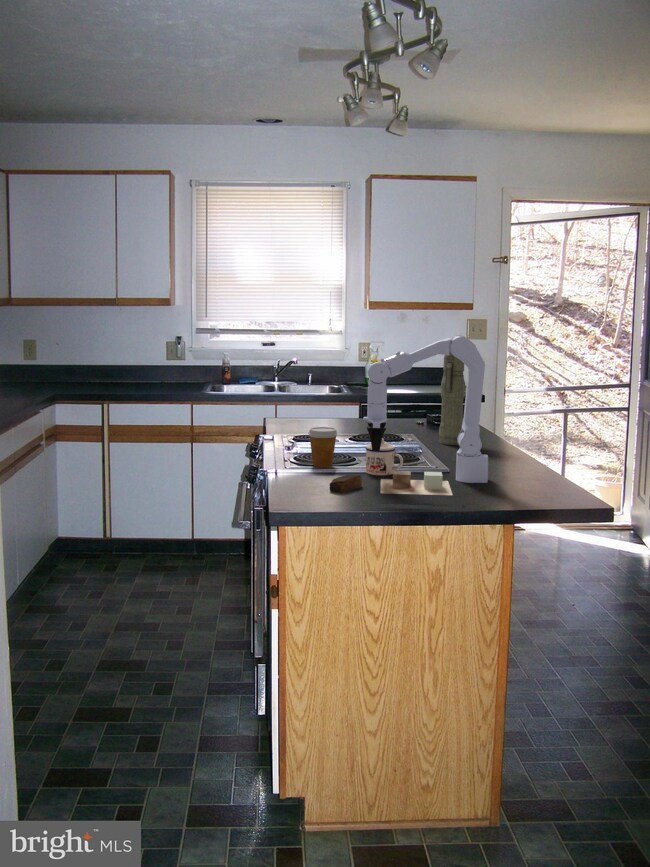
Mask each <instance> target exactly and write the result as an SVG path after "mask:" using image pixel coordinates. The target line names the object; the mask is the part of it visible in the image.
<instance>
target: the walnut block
mask: <svg viewBox="0 0 650 867" xmlns="http://www.w3.org/2000/svg"><path fill="white" fill-rule="evenodd" d="M411 473H412V472H411V470H394V471H393V474H392V479H393V488H408V489H410V486H411V480H412V479H411V477H412V474H411Z"/></svg>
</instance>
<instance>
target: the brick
mask: <svg viewBox="0 0 650 867" xmlns="http://www.w3.org/2000/svg"><path fill="white" fill-rule="evenodd" d="M362 479H363V477H362V475H361V474H357V473H349V474H348V473H347V474H345V475H341V476H339V477H336V478H333V479H332V480H331V482H330V483H329V491H330V492H332V493H336V494H343V493H347V492H349V491H352V490H356V489H359V488H362V483H363V481H362Z"/></svg>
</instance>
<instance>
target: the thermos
mask: <svg viewBox="0 0 650 867" xmlns="http://www.w3.org/2000/svg"><path fill="white" fill-rule="evenodd" d="M464 371H465V364H464V363H463V362H462V360H460V359H458V358H456V357H455V356H454V355H453V354H451V352H449V355H443V375H442V379H441V382H440V384H441V385H440V398H441V416H440V418H441V419H440V425H439V428H438V429H439V430H438V431H439V432H438V436H439V441H438V442H439V444H441V445H445V446H459V444H458V442H457V438H458V435H459V434H460V432H461V429H462V423H463V418H464V399H465V398H466V381H465V374H464Z"/></svg>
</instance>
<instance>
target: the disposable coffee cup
mask: <svg viewBox="0 0 650 867" xmlns="http://www.w3.org/2000/svg"><path fill="white" fill-rule="evenodd" d="M338 434H339V433H338V432H337V428H335V427H327V426H316V427H311V428H309V431H308V436H309V441H310V449H311V450H310V451H311V452H310V453H311V459H312V461H311V462H312V466H313V465H314V466H313V467H317V468H331V467H333V463H334V462H333V461H334V455H335V448H336V441H337V436H338Z"/></svg>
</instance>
